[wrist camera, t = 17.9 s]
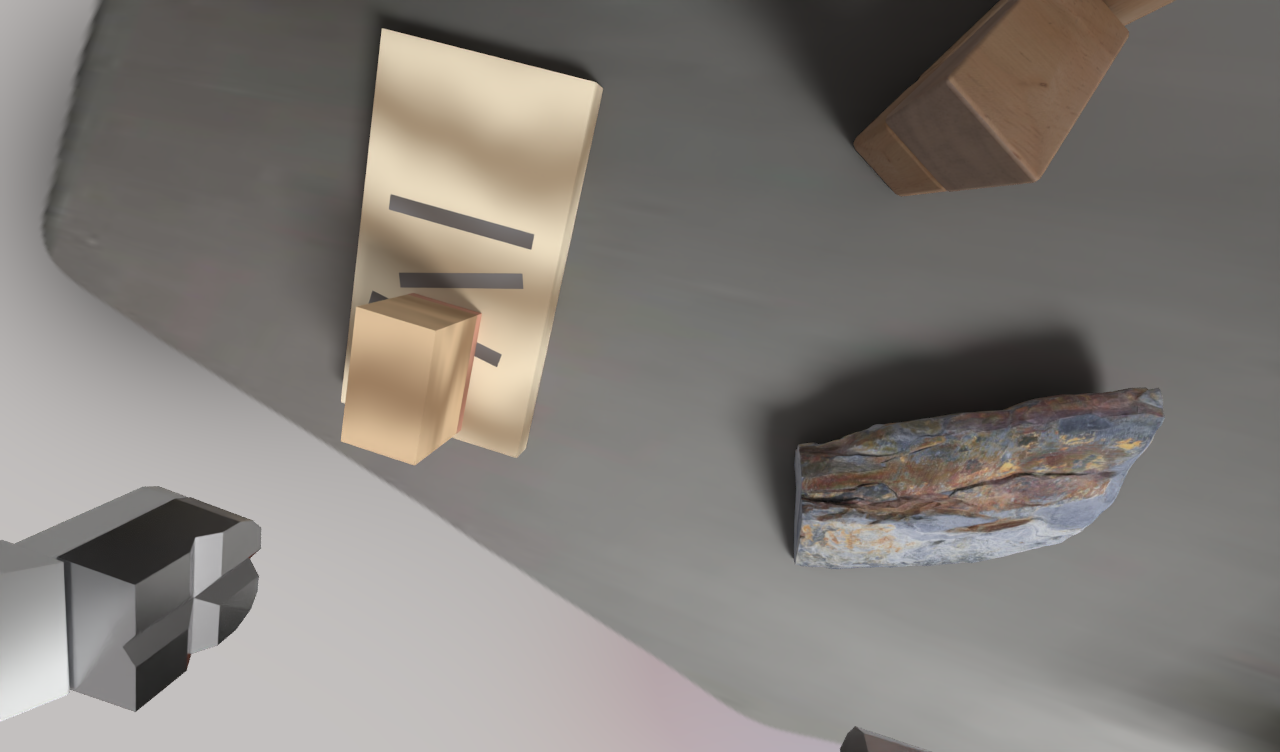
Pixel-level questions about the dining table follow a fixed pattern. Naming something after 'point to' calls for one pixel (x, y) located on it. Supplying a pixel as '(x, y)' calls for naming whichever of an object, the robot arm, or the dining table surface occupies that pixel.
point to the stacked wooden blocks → (999, 96)
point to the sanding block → (408, 375)
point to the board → (475, 209)
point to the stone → (968, 481)
